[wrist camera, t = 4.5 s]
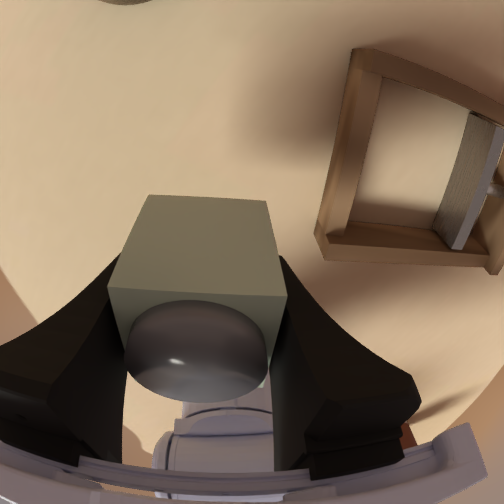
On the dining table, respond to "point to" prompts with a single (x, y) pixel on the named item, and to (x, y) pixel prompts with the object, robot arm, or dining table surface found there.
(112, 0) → the supplement bottle
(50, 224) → the dining table surface
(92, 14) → the dining table surface
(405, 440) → the coffee cup
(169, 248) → the jar
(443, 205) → the pusher plate
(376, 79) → the brown wooden shallow box
